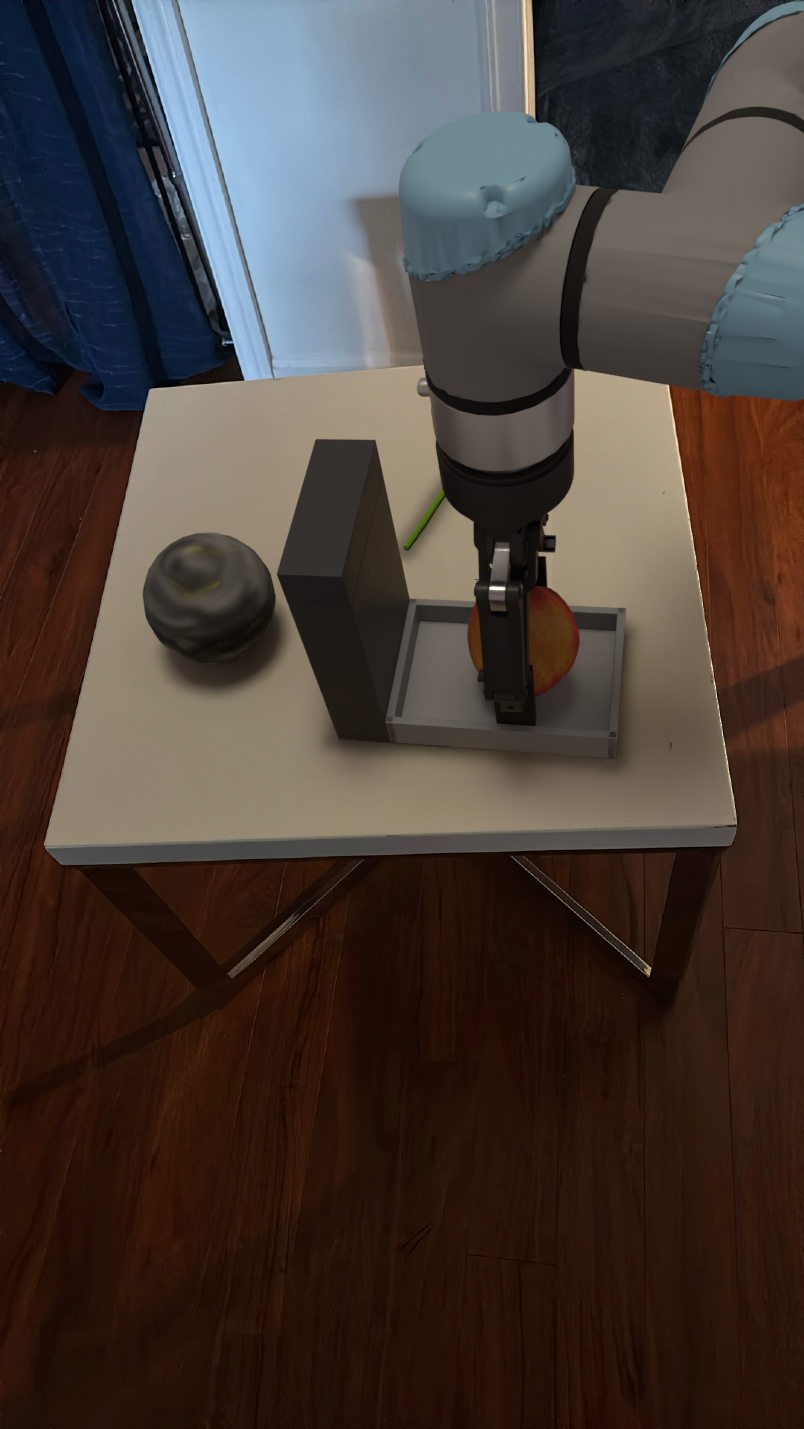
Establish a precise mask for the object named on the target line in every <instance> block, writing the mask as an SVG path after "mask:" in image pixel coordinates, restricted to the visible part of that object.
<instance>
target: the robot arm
mask: <svg viewBox="0 0 804 1429" xmlns="http://www.w3.org/2000/svg"><path fill="white" fill-rule="evenodd" d="M571 157H572V155H571V150H570V146H569V143H568V142H567V139H566V138H565V137H564V135H563V134H562V132H561V131H560V130H559V129H558V128H557V127H556V126H554V125H553V124H550V123H548V122H538V121H537V120H536V118H535V116H533V115H530V114H529V113H525V112H519V111H510V110H509V111H506V110H504V111H503V110H500V111H499V110H498V111H496V110H495V111H487V112H481V113H480V112H479V113H475V114H471V115H467V116H463V117H460V118H457V119H455V120H452V121H449V122H447V123H446V124H444V125H441V126H440V127H438V128H436V129H434V130H433V131H432V132H430V133H428V135H426V136H425V137H424V138H423V139H421V141H419V142H418V143H417V144H416V146H415V148H414V149H413V151H412V152H411V154H410V155H409V156H408V157H407V158H406V159H405V162H404V164H403V166H402V169H401V171H400V175H399V183H398V196H399V197H398V198H399V207H400V208H399V209H400V219H401V230H402V240H403V249H402V252H403V254H402V258H401V259H402V265H403V267H404V272H405V273H407V275H408V276H407V277H408V280H409V286H410V290H411V297H412V303H413V308H414V314H415V318H416V319H415V320H416V324H417V330H418V336H419V342H420V348H421V352H422V362H423V370H424V374H425V376H424V377H420V378H419V379H418V381H417V385H416V391H417V394H418V396H420V397H422V398H429V401H430V413H431V415H430V416H431V420H432V427H433V433H434V436H435V453H436V458H437V464H438V470H439V478H440V483H441V487H442V488H441V489H443V492H444V494H445V495H444V497H445V498H446V500H447V502H448V504H450V506H451V507H452V508H453V509H454V510H456V512H457V513H459V514H460V515H462V516H463V517H465V518H466V519H468V520H470V521H471V522H473V527H472V528H473V529H472V530H473V545H474V547H475V549H476V550H477V558H478V559H477V560H478V561H477V562H478V566H477V567H478V580H477V581H476V582H475V585H474V587H473V596H474V597H475V601H476V604H477V609H478V614H479V624H480V638H481V651H482V664H483V669H482V668H480V671H479V674H478V678H477V679H478V682H481V683H484V692H483V694H484V695H485V701H492V702H494V707H495V715H496V722H497V723H498V724H513V725H527V726H536V719H537V717H536V703H535V689H534V675H533V665H529V591H531V590H533V589H534V588H535V586H544V587H548V570H547V556H546V555H539V554H540V553H553V554H555V553H556V546H557V535H556V534H545V530H544V527H547V524H548V522H549V518H550V515H549V513H550V512H552V511H553V510H554V509H556V508H557V507H558V506H559V505H560V504H561V503H562V502H563V501H564V500H565V498H566V496H567V495H568V494H569V492H570V490H571V488H572V485H573V481H574V477H575V431H574V425H575V417H576V416H575V414H576V412H575V410H576V409H575V408H576V406H575V405H576V403H575V402H576V401H575V400H576V399H575V397H576V396H575V395H576V394H575V392H576V391H575V389H576V388H575V387H576V386H575V384H576V383H575V382H576V380H575V378H576V377H575V376H576V375H575V370H578V371H583V372H592V373H598V374H602V375H603V374H604V375H608V376H609V375H610V376H615V377H620V378H625V379H631V380H638V381H643V382H648V383H654V384H660V385H666V386H671V387H677V388H682V389H687V390H694V391H699V392H703V393H704V392H705V393H708V394H710V395H711V396H715V397H716V396H718V397H721V398H728V397H730V396H732V397H734V396H739V397H750V398H760V399H770V400H771V399H772V400H780V401H781V400H782V401H790V402H791V401H792V402H794V401H802V400H804V0H792V1H790V2H787V3H782V4H780V5H777V6H774V7H773V8H771V9H769V10H768V11H766V12H765V13H762V14H761V15H760V16H759V17H758V18H756V19H755V20H754V21H753V22H752V23H751V24H750V25H749V26H748V27H747V28H746V29H745V30H744V31H743V33H742V34H741V35H740V37H739V38H738V40H737V41H736V42H735V43H734V46H733V47H732V48H731V49H730V50H729V51H728V53H727V54H726V55H725V56H724V57H723V59H722V61H721V62H720V64H719V67H718V69H717V71H716V72H715V73H714V74H713V76H712V77H711V80H710V83H709V85H708V88H707V91H706V93H705V96H704V100H703V104H702V106H701V109H700V111H699V113H698V115H697V116H696V119H695V121H694V123H693V125H692V127H691V130H690V132H689V134H688V136H687V139H686V140H685V143H684V144H683V147H682V149H681V151H680V153H679V155H678V158H677V159H676V162H675V164H674V166H673V168H672V170H671V172H670V174H669V177H668V179H667V181H666V183H665V185H664V187H663V189H662V191H661V193H659V192H650V191H639V190H628V189H614V188H612V189H611V188H604V187H600V186H594V185H593V186H592V185H583V184H582V185H580V184H577V183H576V182H577V181H576V180H577V179H576V175H575V174H576V168H574V167H573V165H572V158H571Z"/></svg>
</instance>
